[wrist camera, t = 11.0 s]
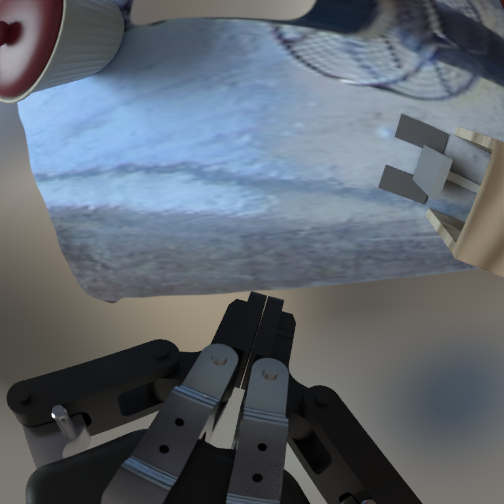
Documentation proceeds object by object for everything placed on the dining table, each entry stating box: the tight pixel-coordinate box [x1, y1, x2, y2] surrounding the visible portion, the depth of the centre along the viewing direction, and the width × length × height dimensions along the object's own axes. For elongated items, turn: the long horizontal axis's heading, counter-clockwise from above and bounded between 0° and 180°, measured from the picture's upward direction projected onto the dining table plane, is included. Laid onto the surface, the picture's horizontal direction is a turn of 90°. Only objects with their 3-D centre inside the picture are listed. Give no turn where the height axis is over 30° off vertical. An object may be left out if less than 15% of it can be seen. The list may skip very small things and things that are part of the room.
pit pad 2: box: [379, 165, 427, 204], centre depth 38 cm, size 3×7×1 cm, turn 78°
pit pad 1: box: [395, 114, 448, 153], centre depth 34 cm, size 3×7×1 cm, turn 78°
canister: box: [0, 0, 125, 104], centre depth 26 cm, size 18×18×21 cm
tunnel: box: [425, 127, 504, 277], centre depth 30 cm, size 11×13×12 cm
